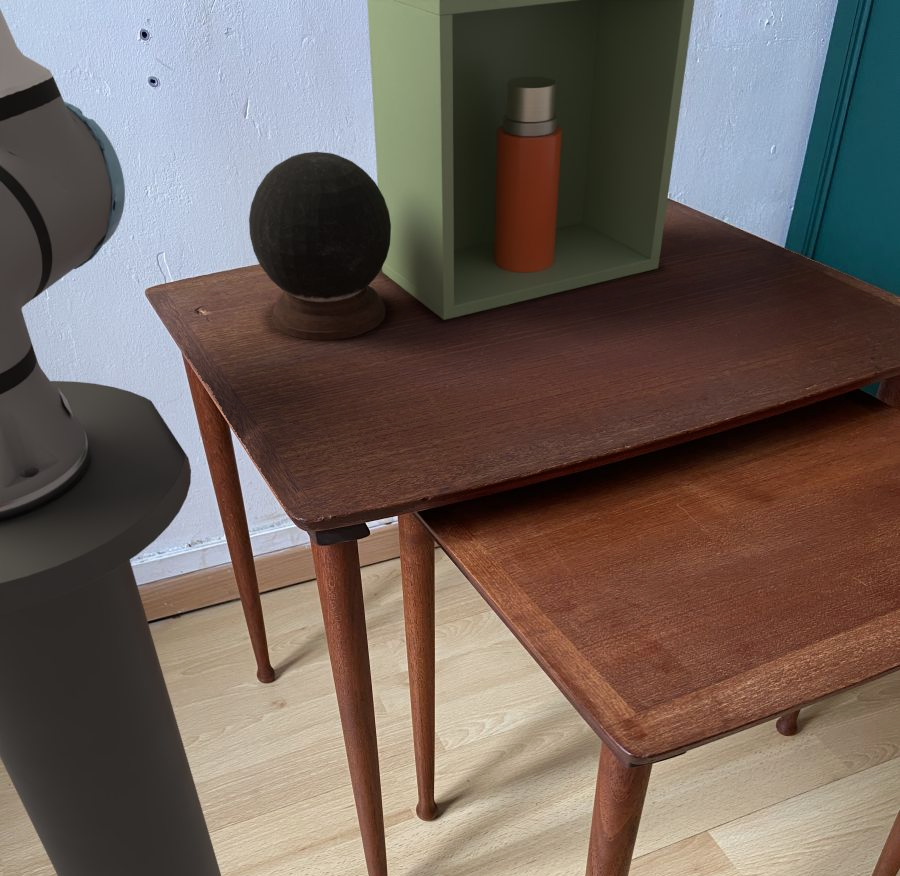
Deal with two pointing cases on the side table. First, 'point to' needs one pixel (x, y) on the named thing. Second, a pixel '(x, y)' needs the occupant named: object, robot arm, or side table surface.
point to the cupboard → (481, 113)
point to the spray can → (527, 177)
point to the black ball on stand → (321, 245)
